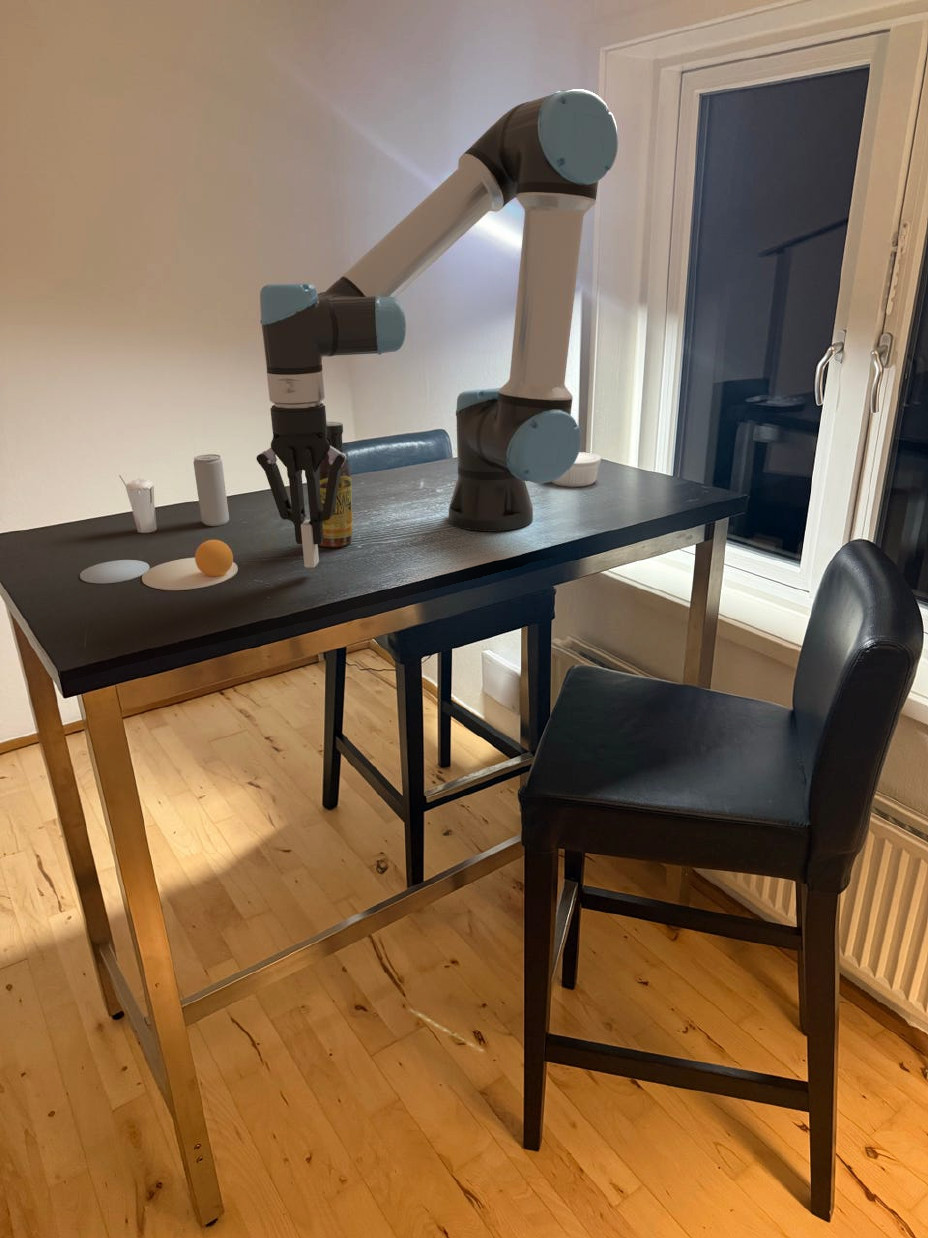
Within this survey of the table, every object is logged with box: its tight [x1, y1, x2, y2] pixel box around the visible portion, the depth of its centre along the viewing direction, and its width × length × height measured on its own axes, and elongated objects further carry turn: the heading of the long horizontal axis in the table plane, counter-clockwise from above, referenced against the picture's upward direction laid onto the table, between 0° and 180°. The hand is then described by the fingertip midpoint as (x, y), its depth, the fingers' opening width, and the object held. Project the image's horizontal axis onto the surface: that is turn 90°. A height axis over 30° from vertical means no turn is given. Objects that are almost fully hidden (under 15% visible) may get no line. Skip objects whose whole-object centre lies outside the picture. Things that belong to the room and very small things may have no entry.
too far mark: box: [79, 559, 151, 585], centre depth 131 cm, size 10×10×1 cm
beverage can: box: [193, 453, 230, 527], centre depth 152 cm, size 5×5×12 cm
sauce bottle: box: [318, 421, 354, 548], centre depth 139 cm, size 7×6×20 cm
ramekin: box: [551, 451, 602, 488], centre depth 178 cm, size 11×11×5 cm
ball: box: [194, 539, 234, 576], centre depth 128 cm, size 6×6×6 cm
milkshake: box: [119, 475, 157, 534], centre depth 149 cm, size 4×5×10 cm
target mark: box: [141, 557, 239, 591], centre depth 130 cm, size 14×14×1 cm
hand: (311, 564), depth 127 cm, fingers closed
